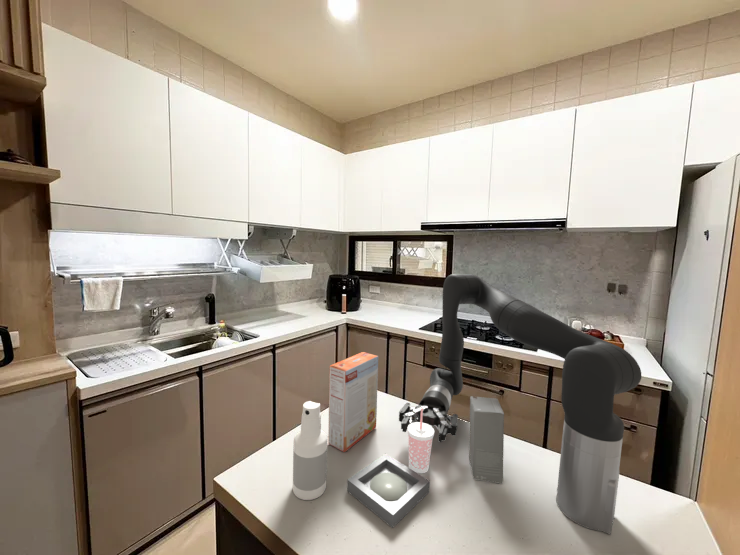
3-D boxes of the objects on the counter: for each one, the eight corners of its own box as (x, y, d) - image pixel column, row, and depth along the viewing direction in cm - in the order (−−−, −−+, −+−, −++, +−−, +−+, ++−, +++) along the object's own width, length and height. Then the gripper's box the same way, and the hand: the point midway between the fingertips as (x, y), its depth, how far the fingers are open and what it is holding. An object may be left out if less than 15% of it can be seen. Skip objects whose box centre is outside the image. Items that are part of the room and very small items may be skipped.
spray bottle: (285, 494, 63) (287, 408, 61) (304, 472, 69) (305, 394, 67) (315, 505, 60) (318, 416, 59) (332, 481, 67) (334, 400, 65)
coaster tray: (429, 492, 65) (429, 480, 65) (392, 528, 56) (393, 515, 56) (385, 463, 73) (385, 453, 73) (347, 490, 64) (347, 479, 64)
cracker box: (359, 420, 91) (362, 350, 89) (376, 428, 87) (380, 355, 85) (326, 444, 79) (328, 364, 78) (344, 453, 76) (347, 370, 74)
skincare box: (503, 485, 68) (509, 415, 66) (468, 479, 69) (473, 410, 68) (495, 460, 76) (500, 397, 74) (465, 455, 77) (469, 393, 76)
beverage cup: (417, 479, 68) (421, 418, 67) (400, 462, 73) (403, 405, 72) (437, 469, 72) (441, 411, 70) (419, 454, 77) (422, 399, 76)
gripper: (411, 384, 90) (393, 410, 75) (463, 395, 84) (453, 425, 70) (410, 409, 91) (391, 440, 76) (461, 422, 85) (451, 457, 70)
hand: (421, 433), depth 73 cm, fingers open, 8 cm apart
